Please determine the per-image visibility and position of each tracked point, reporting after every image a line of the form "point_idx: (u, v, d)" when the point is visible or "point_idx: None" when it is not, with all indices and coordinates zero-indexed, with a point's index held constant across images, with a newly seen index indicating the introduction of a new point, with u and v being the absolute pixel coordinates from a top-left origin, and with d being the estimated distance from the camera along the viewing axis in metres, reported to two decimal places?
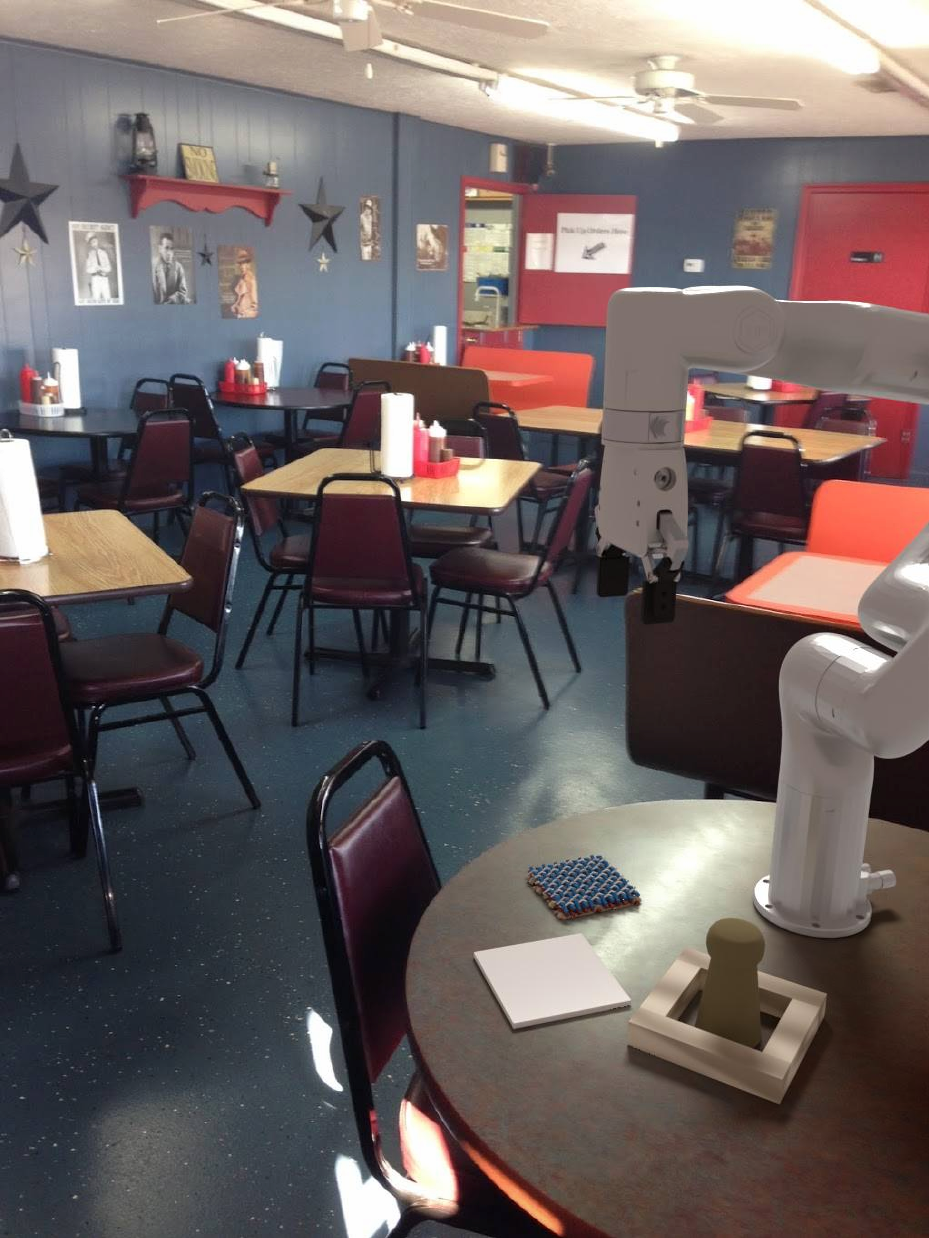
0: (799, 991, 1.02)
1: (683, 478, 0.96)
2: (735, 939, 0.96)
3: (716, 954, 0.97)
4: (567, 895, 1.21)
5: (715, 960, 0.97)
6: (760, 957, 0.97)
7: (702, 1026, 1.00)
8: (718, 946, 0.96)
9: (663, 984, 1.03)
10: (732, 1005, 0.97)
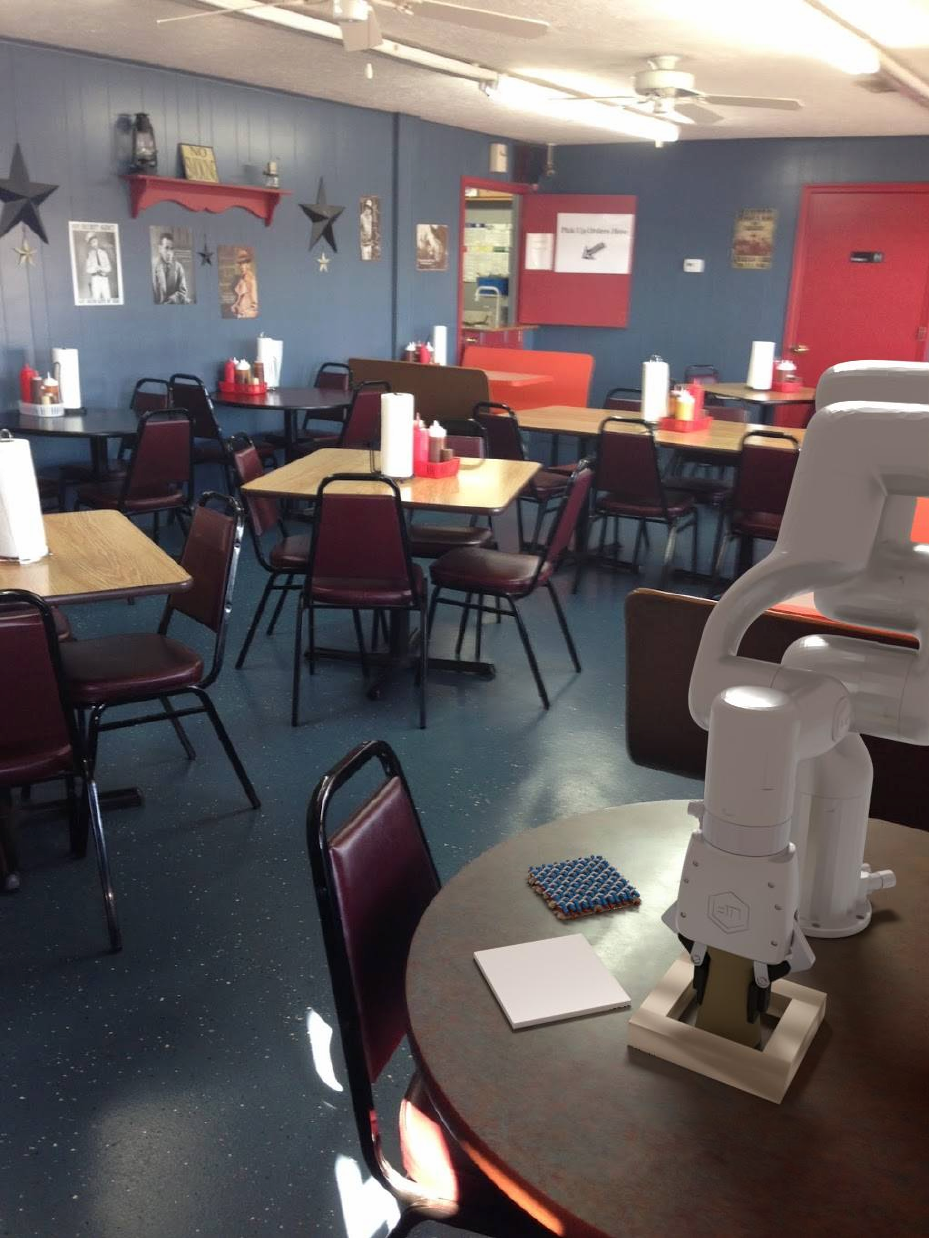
0: (799, 991, 1.02)
1: (684, 861, 0.97)
2: None
3: (716, 953, 0.97)
4: (567, 895, 1.21)
5: (715, 960, 0.97)
6: None
7: (701, 1026, 0.99)
8: None
9: (663, 984, 1.03)
10: (732, 1005, 0.97)
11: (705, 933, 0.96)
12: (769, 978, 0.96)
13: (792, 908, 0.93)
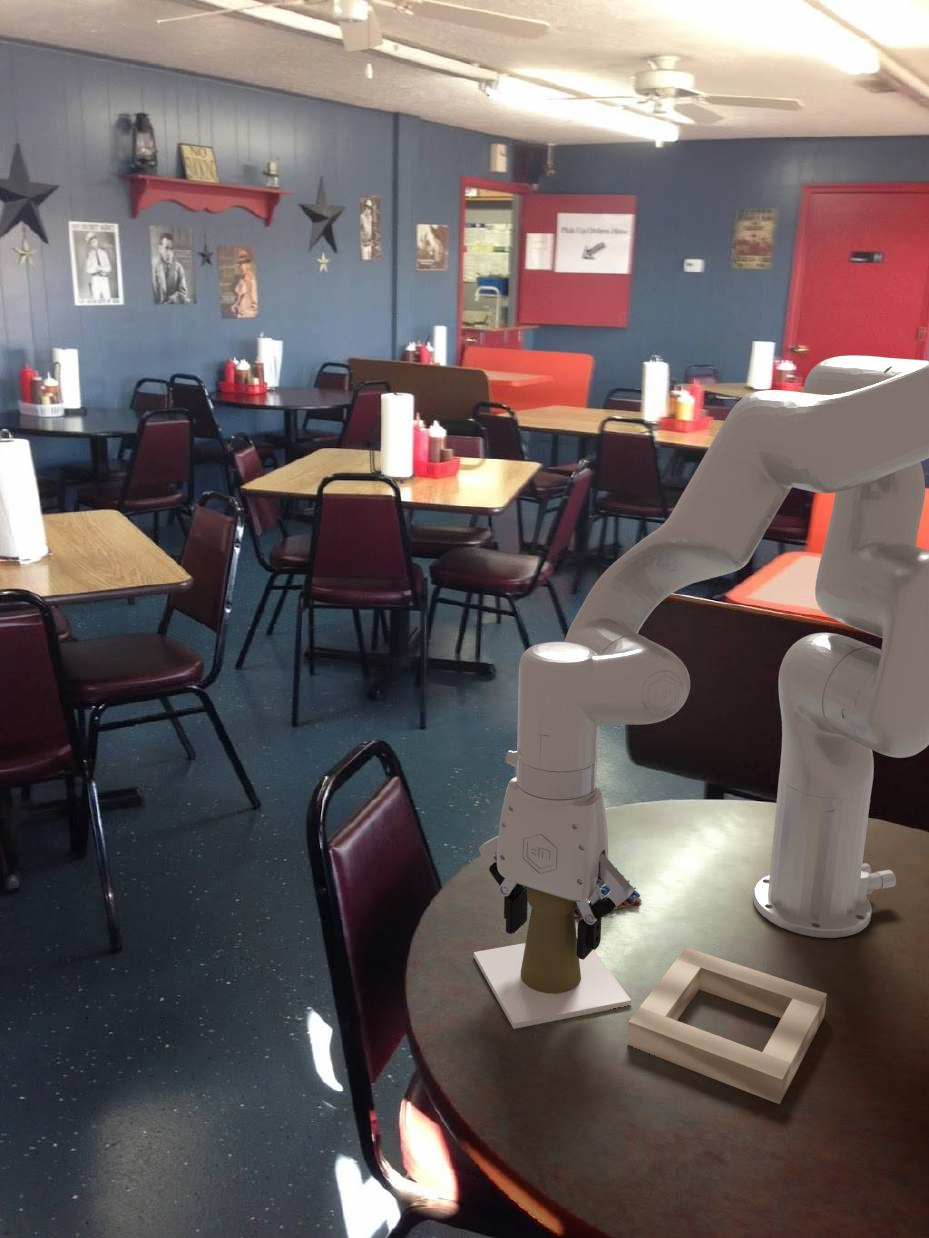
0: (799, 991, 1.02)
1: None
2: None
3: (533, 901, 1.04)
4: None
5: (533, 908, 1.04)
6: (574, 904, 1.04)
7: (524, 970, 1.07)
8: (535, 894, 1.03)
9: (663, 984, 1.03)
10: (549, 949, 1.04)
11: (522, 874, 1.03)
12: (594, 913, 1.02)
13: (596, 849, 1.00)
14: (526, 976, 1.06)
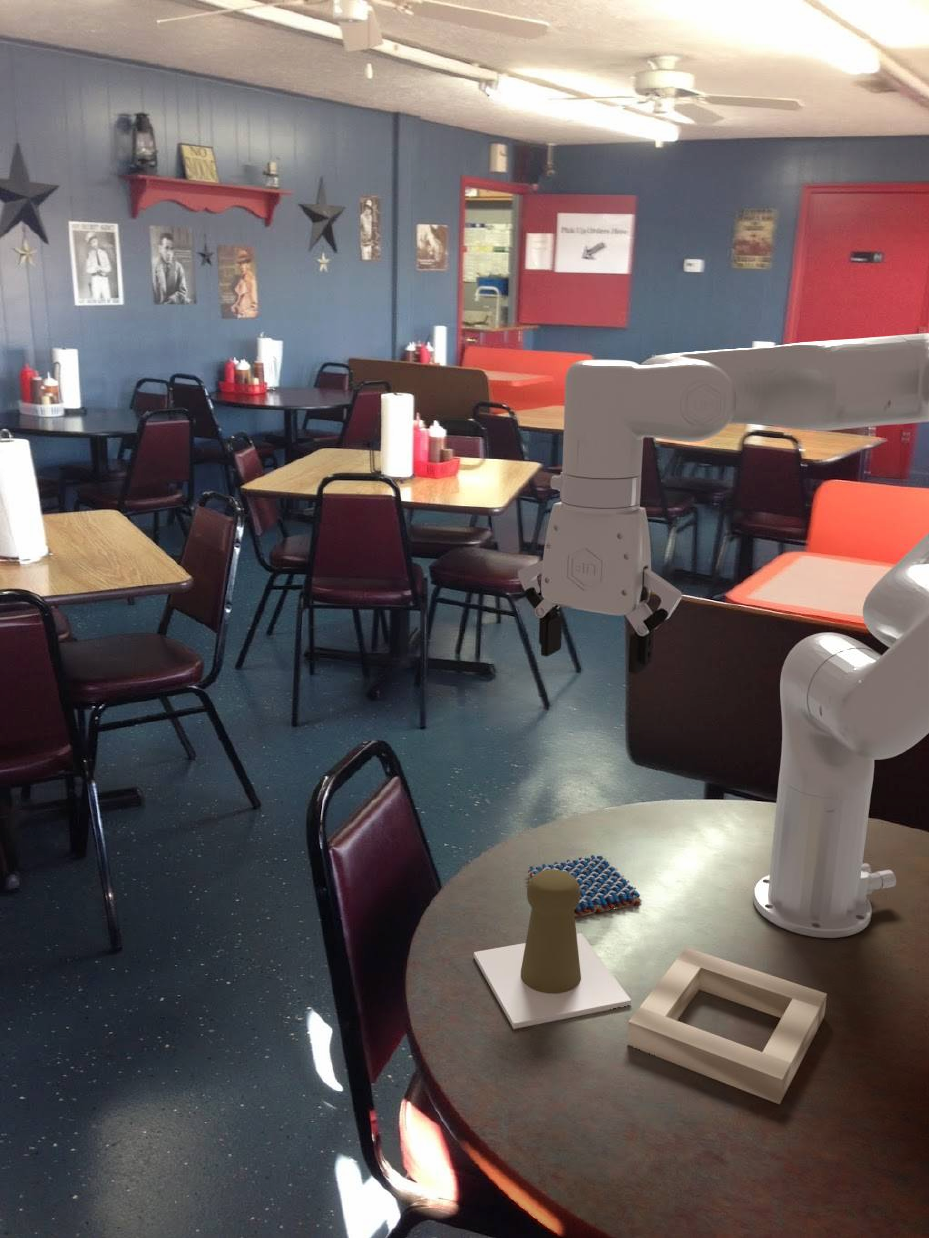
0: (799, 991, 1.02)
1: None
2: (550, 887, 1.03)
3: (533, 901, 1.04)
4: None
5: (533, 907, 1.04)
6: (574, 904, 1.04)
7: (524, 970, 1.07)
8: (535, 894, 1.03)
9: (663, 984, 1.03)
10: (549, 949, 1.04)
11: (566, 594, 1.05)
12: (645, 623, 1.03)
13: (640, 560, 1.02)
14: (526, 976, 1.06)
